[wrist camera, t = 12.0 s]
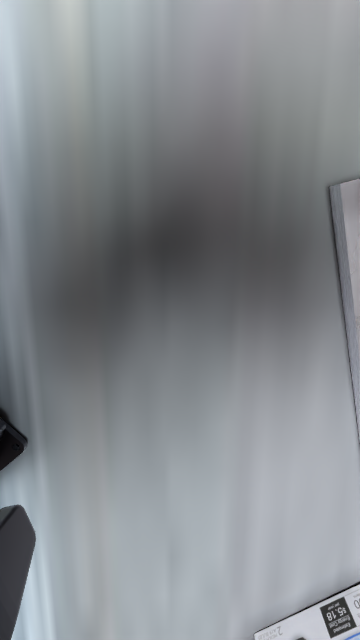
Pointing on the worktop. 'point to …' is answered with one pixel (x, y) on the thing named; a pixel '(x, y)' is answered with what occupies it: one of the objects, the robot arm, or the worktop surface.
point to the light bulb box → (321, 621)
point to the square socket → (349, 270)
